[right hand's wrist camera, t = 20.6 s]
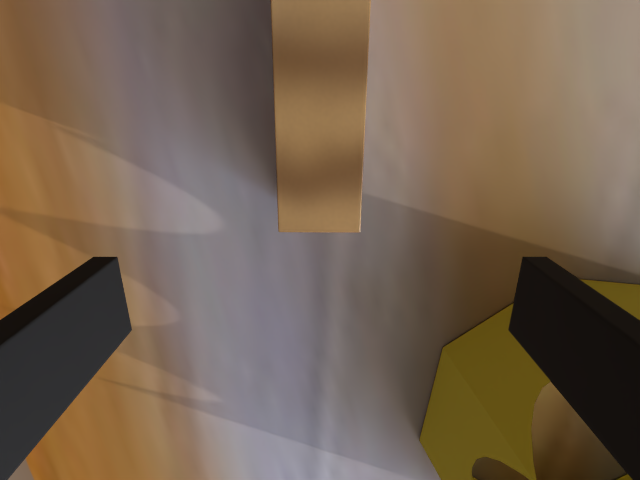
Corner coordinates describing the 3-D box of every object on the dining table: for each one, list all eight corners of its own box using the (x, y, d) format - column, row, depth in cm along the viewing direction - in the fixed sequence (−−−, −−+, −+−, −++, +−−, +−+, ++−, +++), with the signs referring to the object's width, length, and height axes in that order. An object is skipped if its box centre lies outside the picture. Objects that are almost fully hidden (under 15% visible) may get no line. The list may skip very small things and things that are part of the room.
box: (351, 203, 36) (360, 232, 28) (287, 203, 36) (278, 232, 28) (361, -93, 28) (378, -171, 20) (280, -93, 28) (264, -172, 20)
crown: (740, 229, 37) (997, 306, 23) (718, 480, 49) (879, 632, 35) (386, 320, 41) (421, 435, 27) (445, 533, 52) (491, 691, 38)
